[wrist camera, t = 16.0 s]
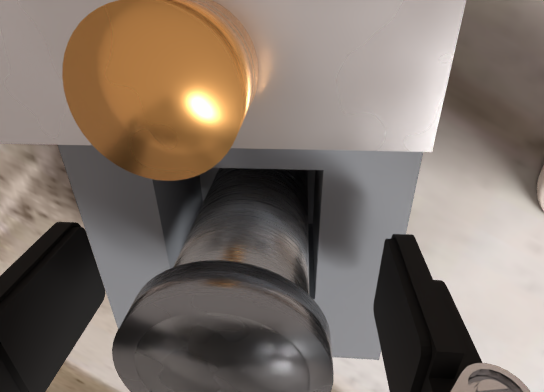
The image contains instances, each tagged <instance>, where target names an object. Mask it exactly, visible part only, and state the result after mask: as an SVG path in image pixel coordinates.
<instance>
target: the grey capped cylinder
mask: <svg viewBox="0 0 544 392" xmlns="http://www.w3.org/2000/svg"><path fill="white" fill-rule="evenodd" d="M112 353H113V361H114V365H115V368H116V371H117V373H118V375H119V377H120V378H121V380H122V381H123V383H124V384H125V386H126V387H127V388H128V389H129V390H130V391H131V392H331V389H332V385H333V363H332V349H331V335H330V330H329V325H328V322H327V320H326V317H325V315H324V313H323V312H322V310H321V309H320V307H319V306H318V304H317V303H316V302H315V301H314V300H313V298H312V297H311V296H310V295H309V239H308V172H307V170H293V169H250V168H219V170H218V172H217V174H216V176H215V178H214V180H213V183H212V185H211V187H210V189H209V191H208V193H207V195H206V198H205V200H204V202H203V204H202V206H201V208H200V211H199V213H198V215H197V217H196V219H195V221H194V223H193V226H192V228H191V230H190V232H189V234H188V236H187V239H186V241H185V243H184V245H183V247H182V249H181V252H180V254H179V256H178V258H177V260H176V262H175V264H174V267H173V268H170V269H168V270H166V271H164V272H162V273H160V274H158V275H156V276H155V277H154V278H152V279H151V280H150V281H148V282H147V283H146V284H145V286H144V287H143V288H142V289H141V290H140V292H139V293H138V295H137V296H136V298H135V300H134V301H133V303H132V305H131V307H130V309H129V311H128V313H127V314H126V316H125V318H124V320H123V322H122V324H121V326H120V327H119V329H118V331H117V333H116V336H115V339H114V342H113V348H112Z"/></svg>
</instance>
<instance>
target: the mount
mask: <svg viewBox="0 0 544 392" xmlns="http://www.w3.org/2000/svg"><path fill="white" fill-rule="evenodd" d="M58 147H59V150H60V153H61V156H62V159H63V162H64V166H65V169H66V172H67V175H68V178H69V181H70V184H71V187H72V190H73V193H74V196H75V199H76V202H77V205H78V208H79V211H80V214H81V217H82V220H83V223H84V226H85V229H86V232H87V235H88V238H89V241H90V244H91V248H92V251H93V254H94V257H95V260H96V263H97V266H98V269H99V272H100V275H101V278H102V281H103V284H104V287H105V290H106V293H107V296H108V299H109V302H110V305H111V308H112V311H113V314H114V317H115V320H116V323H117V326H118V329H119V327H120V326H121V324H122V322H123V320H124V318H125V316H126V314H127V313H128V311H129V309H130V307H131V305H132V303H133V301H134V300H135V298H136V296H137V295H138V293H139V292H140V290H141V289H142V288H143V287H144V286H145V284H146V283H147V282H148V281H150V280H151V279H152V278H154V277H155V276H156V275H158V274H160V273H162V272H164V271H166V270H168V269H170V268H173V267H174V264H175V262H176V260H177V258H178V256H179V254H180V252H181V249H182V247H183V245H184V243H185V241H186V239H187V236H188V234H189V232H190V230H191V228H192V226H193V223H194V221H195V219H196V217H197V215H198V213H199V211H200V208H201V206H202V204H203V202H204V200H205V198H206V195H207V193H208V191H209V189H210V187H211V185H212V183H213V180H214V178H215V176H216V174H217V172H218V170H219V168H250V169H293V170H307V172H308V239H309V295H310V296H311V297H312V298H313V300H314V301H315V302H316V303H317V304H318V306H319V307H320V309H321V310H322V312H323V313H324V315H325V317H326V320H327V322H328V325H329V330H330V335H331V349H332V357H341V358H357V359H374V360H379V357H380V352H381V347H380V342H379V337H378V332H377V327H376V322H375V318H374V311H373V304H374V298H375V292H376V287H377V281H378V276H379V270H380V264H381V259H382V253H383V248H384V242H385V239H391V237H392V235H393V234H406V230H407V226H408V221H409V216H410V212H411V207H412V202H413V198H414V193H415V188H416V183H417V179H418V174H419V169H420V165H421V160H422V155H423V152H405V151H353V150H302V149H251V148H230V150H229V151H228V153H227V154H226V155H225V156H224V157H223V159H222V160H221V161H220V162H219V163H217V164H216V165H215V166H214V167H212V168H211V169H209V170H208V171H206V172H204V173H202V174H200V175H198V176H195V177H192V178H188V179H183V180H176V181H163V180H154V179H149V178H145V177H142V176H139V175H135V174H133V173H131V172H129V171H126V170H124V169H123V168H121V167H119V166H117V165H116V164H114V163H113V162H111V161H110V160H108V159H107V158H106V157H105V156H103V155H102V154H101V153H100V152H99V151H98V150H97V149H96V148H95V147H94V146H93V145H58Z"/></svg>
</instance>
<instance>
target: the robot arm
mask: <svg viewBox="0 0 544 392" xmlns="http://www.w3.org/2000/svg"><path fill="white" fill-rule="evenodd" d="M104 297H105V288H104V285H103V282H102V279H101V276H100V273H99V270H98V267H97V264H96V261H95V258H94V255H93V252H92V249H91V246H90V243H89V240H88V237H87V234H86V231H85V229H84V228H82V227H81V226H80V225H79V224H78V223H74V222H57V223H55V224H54V225H53V226H52V227H51V228H50V229H49V230H48V231H47V232H46V233H45V234H44V235H43V236H41V237H40V238H39V239H38V240H37V241H36V242H35V243H34V244H33V245H32V246H31V247H30V248H29V249H28V250H27V251H26V252H25V253H24V254H23V255H22V256H21V257H20V258H19V259H18V260H17V261H15V262H14V263H13V264H12V265H11V266H10V267H9V268H8V269H7V270H6V271H5V272H4V273H3V274H2V275H1V276H0V392H45V391H46V390H47V388H48V387H49V385H50V383H51V382H52V380H53V379H54V377H55V376H56V374H57V372H58V371H59V369H60V368H61V366H62V365H63V363H64V361H65V360H66V358H67V357H68V355H69V354H70V352H71V350H72V349H73V347H74V346H75V344H76V343H77V341H78V339H79V338H80V336H81V335H82V333H83V332H84V330H85V328H86V327H87V325H88V324H89V322H90V321H91V319H92V317H93V316H94V314H95V313H96V311H97V310H98V308H99V306H100V305H101V303H102V302H103V300H104ZM373 311H374V318H375V322H376V327H377V332H378V337H379V342H380V347H381V351H382V356H383V361H384V366H385V371H386V375H387V380H388V385H389V390H390V392H530V390H529V389H528V387H527V386H526V385H525V384H524V383H523V382H522V381H521V380H520V379H519V378H517V377H516V376H514V375H513V374H512V373H510V372H509V371H507V370H505V369H503V368H501V367H498V366H496V365H492V364H487V363H482V361H481V359H480V357H479V354H478V352H477V350H476V348H475V346H474V344H473V342H472V339H471V337H470V335H469V333H468V331H467V329H466V327H465V325H464V322H463V320H462V318H461V316H460V314H459V312H458V310H457V307H456V305H455V303H454V301H453V299H452V297H451V295H450V292H449V290H448V288H447V286H446V285H445V283H444V282H443V281H441V280H433V279H432V276H431V274H430V272H429V269H428V267H427V265H426V262H425V260H424V258H423V255H422V253H421V251H420V249H419V246H418V244H417V242H416V239H415V237H414V235H408V234H393V235H392V237H391V239H385V242H384V248H383V253H382V259H381V264H380V270H379V276H378V281H377V287H376V292H375V298H374V304H373Z"/></svg>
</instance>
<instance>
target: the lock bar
mask: <svg viewBox="0 0 544 392" xmlns="http://www.w3.org/2000/svg"><path fill="white" fill-rule="evenodd" d="M465 4H466V0H0V144H47V145H93V146H94V147H95V148H96V149H97V150H98V151H99V152H100V153H101V154H102V155H103V156H105V157H106V158H107V159H108V160H110V161H111V162H113V163H114V164H116V165H117V166H119V167H121V168H123V169H124V170H126V171H129V172H131V173H133V174H135V175H139V176H142V177H145V178H149V179H154V180H163V181H176V180H183V179H188V178H192V177H195V176H198V175H200V174H202V173H204V172H206V171H208V170H209V169H211V168H212V167H214V166H215V165H216V164H217V163H219V162H220V161H221V160H222V159H223V157H224V156H225V155H226V154H227V153H228V151H229V150H230V148H251V149H302V150H353V151H405V152H432V150H433V146H434V141H435V137H436V132H437V128H438V123H439V119H440V115H441V110H442V106H443V101H444V97H445V92H446V88H447V84H448V79H449V75H450V70H451V66H452V62H453V57H454V53H455V48H456V44H457V39H458V35H459V31H460V26H461V22H462V17H463V13H464V8H465Z"/></svg>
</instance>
